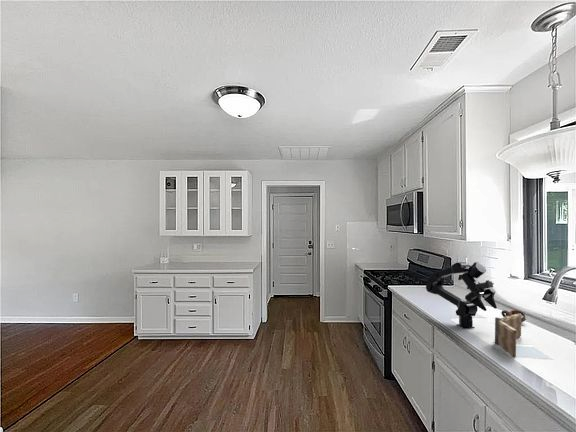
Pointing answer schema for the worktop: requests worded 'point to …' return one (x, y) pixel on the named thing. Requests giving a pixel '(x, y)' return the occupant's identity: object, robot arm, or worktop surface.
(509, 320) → the fence swing panel
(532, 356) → the card
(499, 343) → the panel
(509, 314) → the pottery mug
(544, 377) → the worktop surface
